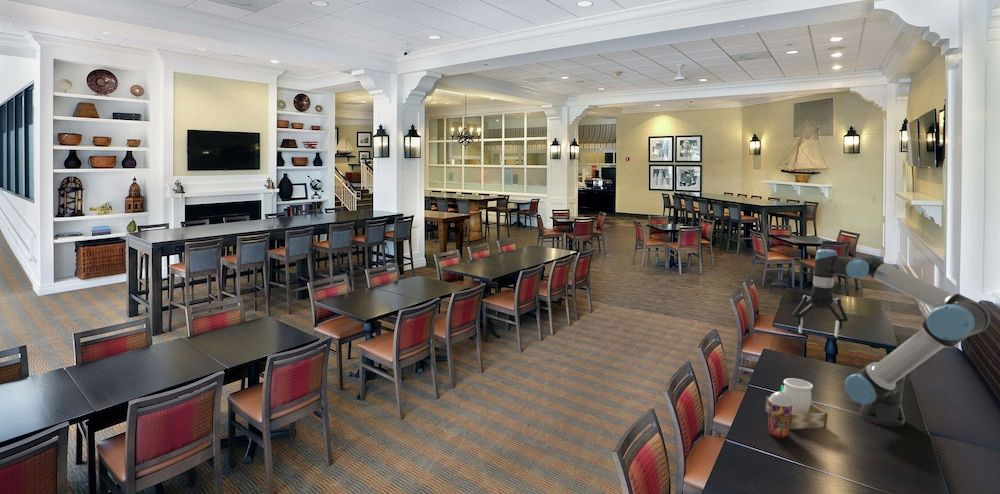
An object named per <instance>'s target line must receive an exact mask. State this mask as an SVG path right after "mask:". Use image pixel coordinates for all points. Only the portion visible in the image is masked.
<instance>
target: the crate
mask: <svg viewBox="0 0 1000 494" xmlns="http://www.w3.org/2000/svg"><path fill="white" fill-rule="evenodd" d="M769 397H770V396H765V407H764V411H765V412H766V413H768V412H769ZM827 422H828V412H826V411H824V410H823V409H821V408H820V407H818V406H816V405H815V404H814V403H812V402H811V404H810V407H809V411H808V413H807V414H792V413H791V417H790V423H789V429H788V430H804V429H805V430H806V429H807V430H809V429H810V430H811V429H813V430H814V429H827Z"/></svg>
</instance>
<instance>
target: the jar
mask: <svg viewBox="0 0 1000 494" xmlns="http://www.w3.org/2000/svg"><path fill="white" fill-rule="evenodd" d="M783 384H784V385H783V392H784V393H786V394H788V395H789V397H790V398H791V400H792V402H793V405H792V411H791V413H792V414H807V413H808V411H809V407H810V404H811V403H812V398H813V395H812V390H813V386H814V385H813V384H812V383H811V382H809V381H807V380H804V379H799V378H794V377H793V378H792V377H791V378H789V377H788V378H785V379H783Z"/></svg>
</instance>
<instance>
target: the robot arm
mask: <svg viewBox="0 0 1000 494" xmlns="http://www.w3.org/2000/svg"><path fill="white" fill-rule="evenodd" d="M836 275H838V276H842V277H849V278H852V279H864V278H865V277H866V276H868V277H869V278H872V279H874V280H876V281H878V282H880V283H882V284H885V285H886V286H888V287H890V288H892V289H895V290H896V291H899V292H900V293H902V294H904V295H906V296H908V297H910V298H913V299H914V300H915V301H917V302H921V304H924V305H925V306H929V307H930V308H932V309H933V310H932V311H930V312H929V314H928V316H927V318H926V319H924V320H923V321H922V323H921V329H920V330H918V331H917V332H916V333H915V334H913V335H912V336H911V337H909V338H908V339H907V340H905V341H904V342H902V344H900V345H899V346H898V347H896V348H895V349H893V350H892V351H890V353H889V354H887V355H886V356H885V357H882V359H880V360H879V361H878V362H877V361H873V362H871V363H869V364H867V365H866V366H864V367H863V368H862V369H861V370H859V371H858V372H856V373H852V374H850V375H849V376H848V377H846V379H845V381H844V389H845V391H846V393H847V395H848V396H849V397H850V399H851V400H852V401H854V402H856V403H858V404H861V406H860V408H859V409H860V410H859V415H860V417H861V418H862V419H864V420H866V421H868V422H869V423H873V424H874V425H875V424H876V425H879V426H883V427H888V428H899V427H903V426H904V425H905V419H906V418H905V414H904V411H903V407H902V402H903V395H904V387H905V380H906V375H907V374H909V373H910V372H912V371H913V370H915V369H916V368H918V366H920V365H921V364H923V363H924V362H925V361H927V360H928V359H930V358H931V357H932V356H934V355H935V354H937V353H938V352H939V351H941V350H942V349H944V348H951V349H952V348H954V347H955V346H956V345H958V344H960V343H961V342H962V341H963V340H965V339H967V338H968V337H970V336H973V335H976V334H980V333H982V332H984V331H985V330H986V329H987V328H988V326H989V325H990V322H991V317H990V316H991V315H990V313H989V310H987V308H986V307H984V306H983V305H982V304H981V303H979V302H977V301H975V300H973V299H972V298H971V299H970V298H969V297H966V296H964V295H962V294H960V293H950V292H949V291H947V290H945V289H943V288H940V287H938V286H936V285H933V284H931V283H929V282H928V281H925V280H922V279H921V278H919V277H916V276H915V275H912V274H909V273H908V272H905V271H903V270H902V269H899V268H897V267H895V266H893V265H890V264H888V263H886V262H884V260H883V259H882V258H881V257H880V256H878V255H864V256H858V257H857V256H856V257H844V256H839V255H838V252H837V250H835V249H827V248H820V249H818V250H816V254H815V258H814V271H813V280H812V284H813V285H812V288H811V296H808V295H806V294H804V295H803V296H802V299H801V301H800V302H799V304H798V305H797V307H796V308H795V309H794V310H793V312H792V316H794V317H795V318H796V325H797V326H798V333H799V334H803V325H804V324H803V323H804V318H803V317H804V316H805V315H806V314H808V312H809V311H811V310H813V309H814V308H818V309H819V308H822V309H826V308H828V309H829V311H830V312H831V313H832V314H833V315H834V317H835V318H836V319H837V320H835V324H834V325H835V326H834V337H835V338H839V330H842V328H843V323H844V322H848V321H849V319H848V317H847V315H846V312H845V310H844V308H843V306H842V300H841V298H840V297H836V298H833V294H834V288H833V287H834V284H835V276H836ZM808 301H810V303H809V304H808V305H807V306H806V307H805V308H804V306H805V305H806V304H807V302H808ZM833 302H834V304H836V306H837V308H838V310H839V313H840V314H841V316H840V315H839V314H838V312H837V311H835V309H834V307H832V305H831V304H832V303H833ZM803 308H804V309H803Z"/></svg>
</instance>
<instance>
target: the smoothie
mask: <svg viewBox="0 0 1000 494" xmlns="http://www.w3.org/2000/svg"><path fill="white" fill-rule="evenodd" d="M783 388H784V385H783V384H781V386H780V391H775V392H773V393H772V394H771V395H770V396H768V397H769V412H767V414H768V418H767V420H768V422H767V424H768V425H767V430H768V432H769V434H770V435H771V436H773V437H774V438H781V439H782V438H786V437H787V435H788V433H789V430H790V429H789V423H790V417H791V411H792V405H793V402H792V400H791V398H790V397H789V395H788V394H786V393H784V392H783Z"/></svg>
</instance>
